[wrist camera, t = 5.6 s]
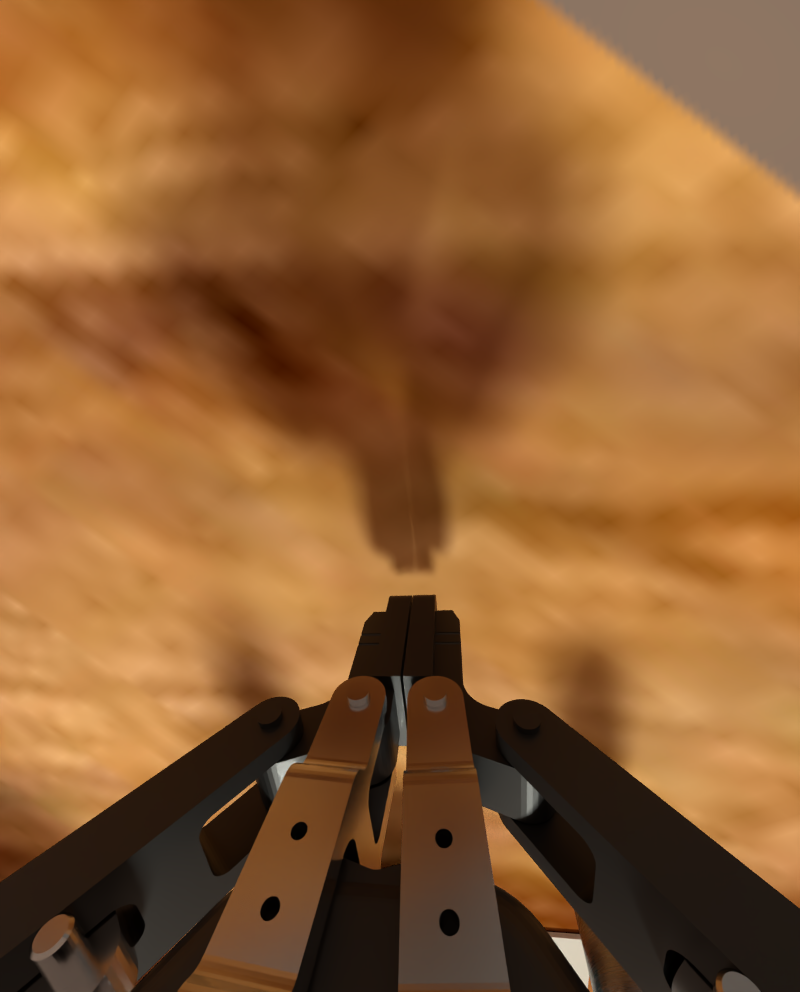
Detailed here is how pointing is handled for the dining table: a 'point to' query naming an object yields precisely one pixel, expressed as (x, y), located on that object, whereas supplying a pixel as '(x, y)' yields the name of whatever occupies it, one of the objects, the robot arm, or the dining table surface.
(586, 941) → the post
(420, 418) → the dining table surface
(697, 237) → the dining table surface
